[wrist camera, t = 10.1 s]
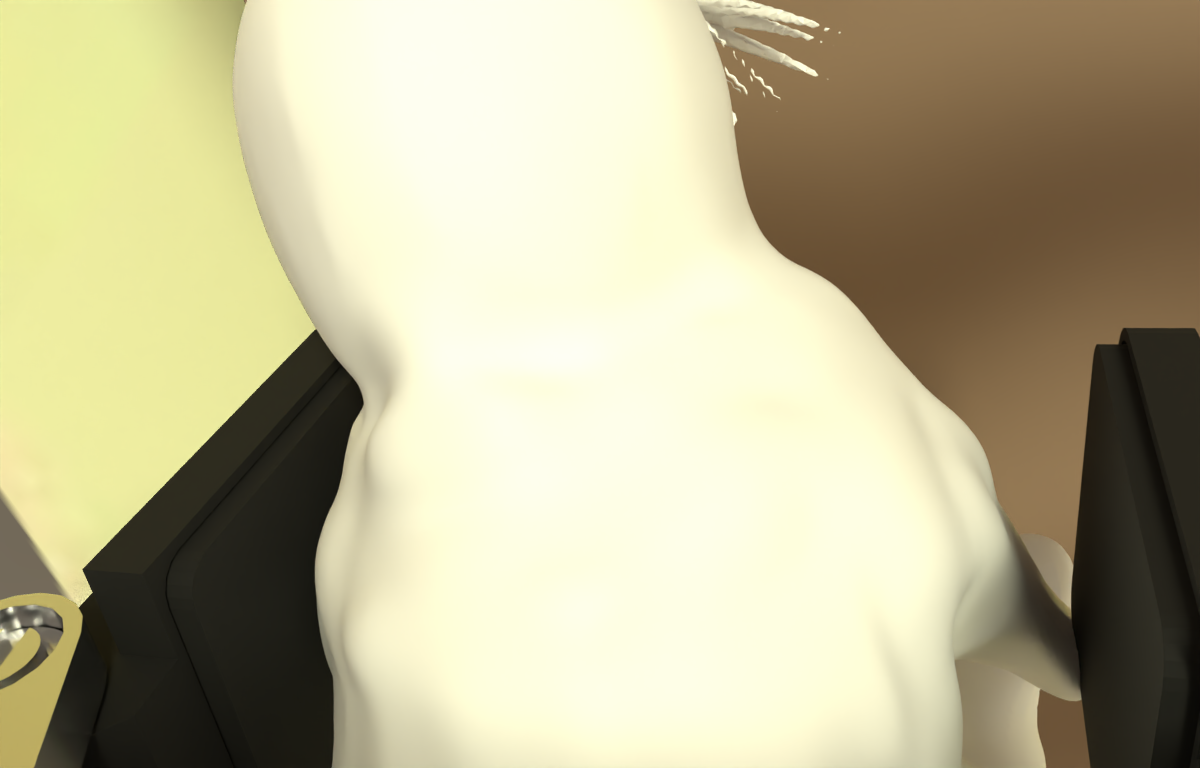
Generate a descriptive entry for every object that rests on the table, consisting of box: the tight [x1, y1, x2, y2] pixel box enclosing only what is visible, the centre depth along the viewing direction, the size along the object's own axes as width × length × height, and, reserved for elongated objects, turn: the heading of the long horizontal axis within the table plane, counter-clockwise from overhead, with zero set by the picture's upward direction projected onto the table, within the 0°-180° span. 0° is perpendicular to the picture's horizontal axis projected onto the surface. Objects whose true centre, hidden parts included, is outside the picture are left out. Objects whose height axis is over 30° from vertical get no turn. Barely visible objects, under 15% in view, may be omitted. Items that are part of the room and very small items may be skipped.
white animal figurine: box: [233, 0, 1082, 768], centre depth 9 cm, size 6×8×12 cm
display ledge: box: [244, 0, 1200, 768], centre depth 14 cm, size 18×12×8 cm, turn 8°
